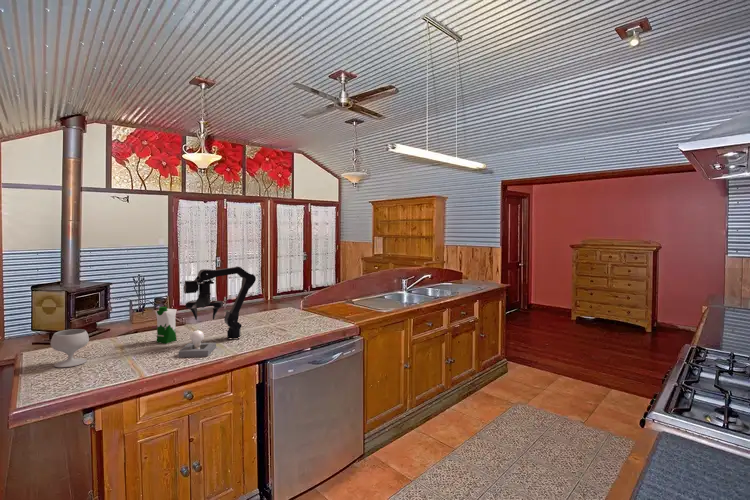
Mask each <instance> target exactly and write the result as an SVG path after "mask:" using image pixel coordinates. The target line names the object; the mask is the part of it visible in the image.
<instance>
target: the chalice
mask: <svg viewBox="0 0 750 500" xmlns="http://www.w3.org/2000/svg"><path fill="white" fill-rule="evenodd" d="M89 341H90V337H89V334H88V332H87V330H86V329H84V328H83V329H82V328H73V329H64V330H59V331H57V332H54V333H53V335H52V337H51V339H50V347H51V348H52V349H53V350H55V351H57V352H60V353H64V354H66V355H67V359H65V360H61V361H58V362H56V363H55V364H54V365H53V367H55V368H70V367H76V366H80V365H83V364H85V363H87V362H88V359H87V358H83V357H82V358H81V357H79V358H78V357H77V358H75V357H74V354H75V353H76V352H77V351H79V350H81V349H82V348H84V347H85V346H86V345H88V343H89Z"/></svg>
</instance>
